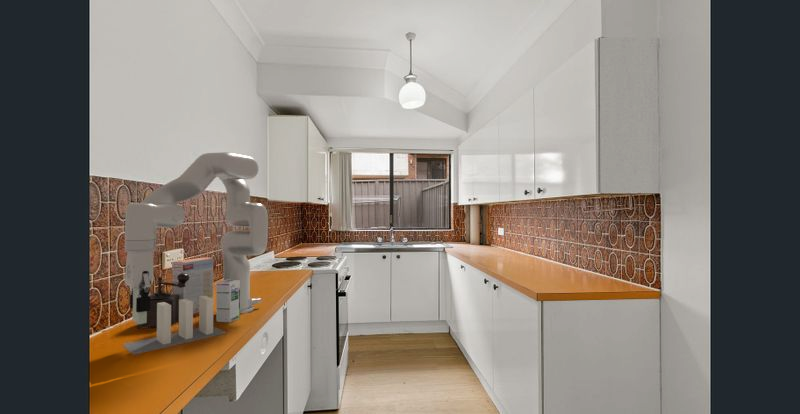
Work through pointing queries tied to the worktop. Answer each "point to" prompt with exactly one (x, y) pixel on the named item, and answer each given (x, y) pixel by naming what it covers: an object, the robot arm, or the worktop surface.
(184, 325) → the domino
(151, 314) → the dark block with crank
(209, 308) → the domino
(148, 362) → the worktop surface
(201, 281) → the cracker box
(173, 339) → the mat
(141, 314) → the domino
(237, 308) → the syrup box
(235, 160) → the robot arm
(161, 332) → the domino
